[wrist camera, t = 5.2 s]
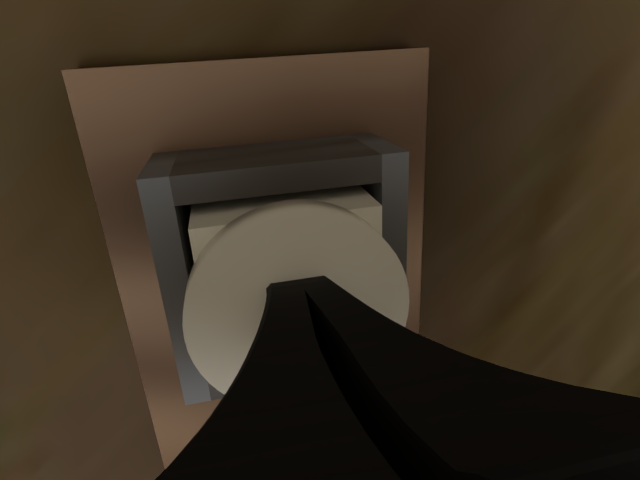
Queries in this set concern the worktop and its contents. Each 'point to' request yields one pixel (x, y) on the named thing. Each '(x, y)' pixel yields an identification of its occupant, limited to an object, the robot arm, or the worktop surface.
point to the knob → (280, 266)
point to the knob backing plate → (238, 177)
